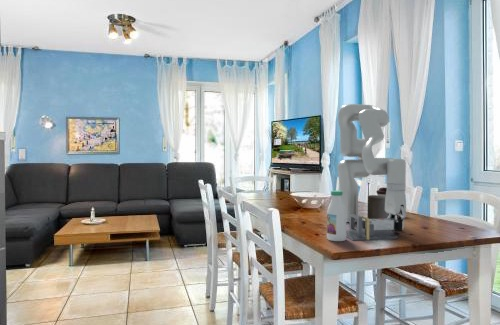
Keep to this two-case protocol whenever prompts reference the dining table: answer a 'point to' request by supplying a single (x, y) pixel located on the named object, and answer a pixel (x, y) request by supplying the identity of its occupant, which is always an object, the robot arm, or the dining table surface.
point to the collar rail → (366, 230)
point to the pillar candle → (376, 207)
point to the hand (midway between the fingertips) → (395, 229)
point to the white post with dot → (384, 223)
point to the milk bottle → (336, 218)
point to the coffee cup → (382, 191)
